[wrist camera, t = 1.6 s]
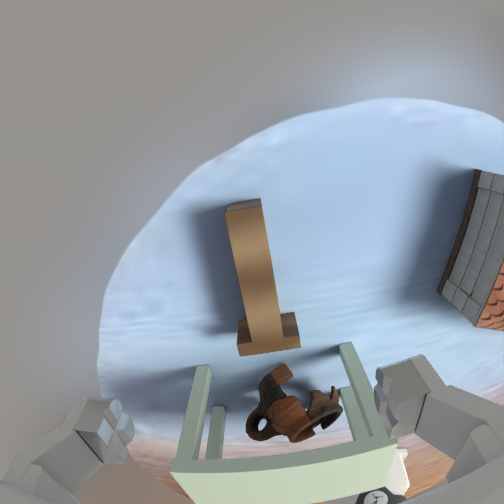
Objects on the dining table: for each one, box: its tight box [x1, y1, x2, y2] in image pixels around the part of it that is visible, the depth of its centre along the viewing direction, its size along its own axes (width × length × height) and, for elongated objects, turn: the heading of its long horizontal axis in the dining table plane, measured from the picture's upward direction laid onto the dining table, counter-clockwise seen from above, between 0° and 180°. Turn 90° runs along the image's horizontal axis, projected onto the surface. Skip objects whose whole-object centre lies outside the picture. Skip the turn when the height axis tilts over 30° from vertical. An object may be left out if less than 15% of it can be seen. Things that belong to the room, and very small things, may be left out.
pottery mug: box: [246, 364, 343, 443], centre depth 34 cm, size 12×9×8 cm
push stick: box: [224, 199, 301, 356], centre depth 29 cm, size 14×6×4 cm, turn 10°
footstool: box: [170, 342, 398, 504], centre depth 28 cm, size 9×19×16 cm, turn 100°
